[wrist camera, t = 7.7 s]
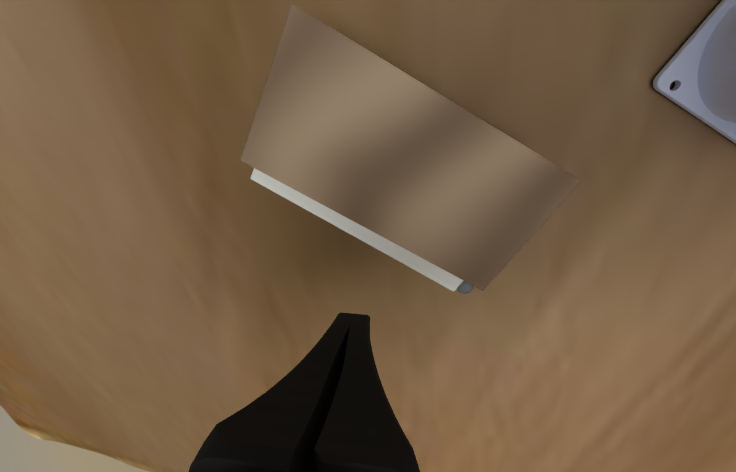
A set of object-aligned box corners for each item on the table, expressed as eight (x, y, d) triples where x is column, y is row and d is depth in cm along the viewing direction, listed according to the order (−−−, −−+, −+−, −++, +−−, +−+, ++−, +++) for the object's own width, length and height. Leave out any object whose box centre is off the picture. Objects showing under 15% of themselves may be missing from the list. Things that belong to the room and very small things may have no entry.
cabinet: (534, 154, 20) (581, 180, 14) (465, 242, 23) (483, 290, 17) (326, 28, 18) (292, 3, 13) (283, 141, 21) (240, 160, 16)
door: (463, 245, 23) (478, 287, 18) (448, 263, 23) (458, 308, 19) (290, 145, 21) (256, 162, 16) (280, 168, 22) (245, 191, 17)
